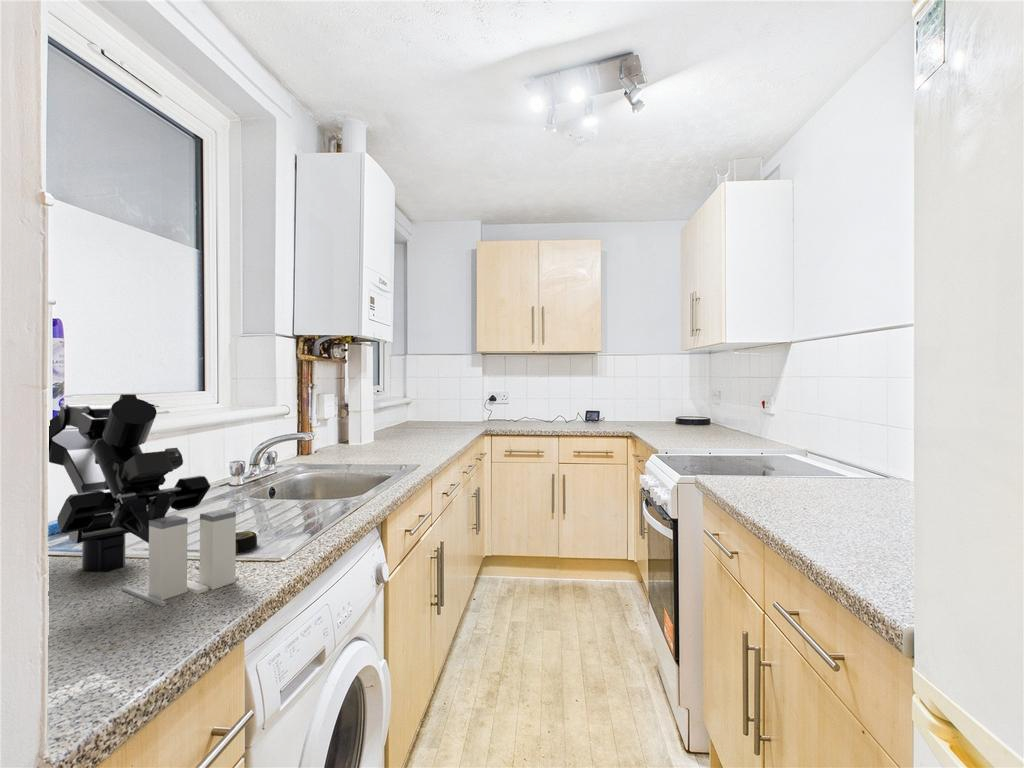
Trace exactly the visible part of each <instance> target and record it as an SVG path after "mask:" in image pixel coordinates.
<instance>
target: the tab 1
mask: <svg viewBox="0 0 1024 768" xmlns="http://www.w3.org/2000/svg"><path fill="white" fill-rule="evenodd" d="M187 580H188V517H184V516H180V515H177V514H176V515H175V514H174V515H170V516H165V517H163V518H159V519H154V520H149V543H148V595H150V596H153V597H155V598H158V599H160V600H163V601H165V600H167V599H170V598H173V597H176V596H179V595H182V594H185V593H188V591H187Z"/></svg>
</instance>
